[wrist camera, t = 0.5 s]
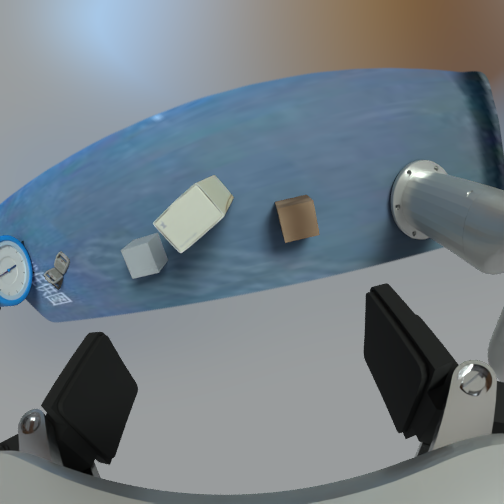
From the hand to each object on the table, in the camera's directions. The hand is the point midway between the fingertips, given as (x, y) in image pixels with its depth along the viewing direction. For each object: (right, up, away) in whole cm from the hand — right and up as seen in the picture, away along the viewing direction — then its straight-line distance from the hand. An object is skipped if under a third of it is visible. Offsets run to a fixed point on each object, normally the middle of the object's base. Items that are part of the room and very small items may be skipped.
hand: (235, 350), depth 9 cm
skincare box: (-5, +11, +28) cm, 31 cm away
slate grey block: (-15, +4, +31) cm, 35 cm away
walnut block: (+6, +9, +29) cm, 31 cm away
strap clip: (-35, 0, +33) cm, 49 cm away
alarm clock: (-46, +2, +32) cm, 56 cm away
